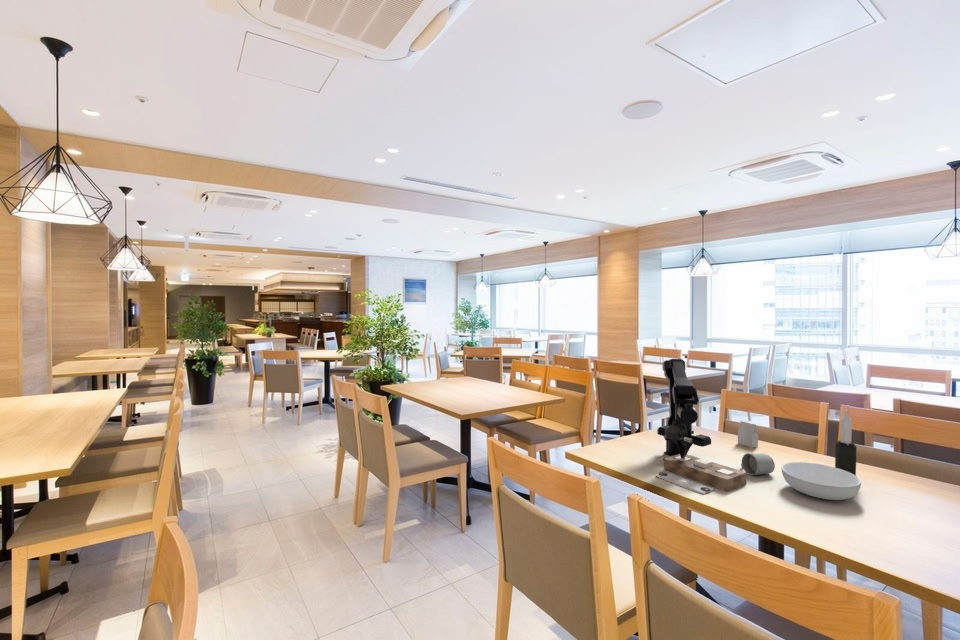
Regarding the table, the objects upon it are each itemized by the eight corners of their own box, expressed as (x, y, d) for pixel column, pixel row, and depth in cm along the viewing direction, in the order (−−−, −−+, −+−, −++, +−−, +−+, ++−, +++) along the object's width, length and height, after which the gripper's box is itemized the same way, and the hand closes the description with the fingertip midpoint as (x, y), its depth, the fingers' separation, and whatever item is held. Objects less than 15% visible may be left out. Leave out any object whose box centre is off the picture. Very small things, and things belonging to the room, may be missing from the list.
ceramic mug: (776, 476, 161) (776, 455, 161) (757, 478, 159) (757, 457, 159) (752, 466, 171) (752, 446, 171) (734, 468, 169) (734, 448, 169)
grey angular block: (752, 448, 193) (752, 425, 193) (737, 443, 199) (738, 421, 199) (757, 446, 194) (758, 424, 194) (743, 442, 201) (743, 420, 200)
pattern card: (654, 476, 161) (654, 474, 161) (664, 472, 164) (664, 470, 164) (704, 495, 145) (704, 492, 145) (715, 490, 148) (715, 488, 148)
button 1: (674, 465, 168) (674, 457, 168) (681, 463, 170) (681, 455, 170) (684, 468, 165) (684, 460, 165) (690, 466, 167) (691, 458, 167)
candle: (851, 478, 159) (853, 409, 158) (856, 483, 154) (858, 412, 153) (833, 476, 161) (835, 407, 160) (838, 481, 156) (840, 410, 155)
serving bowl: (766, 487, 152) (767, 467, 151) (805, 477, 160) (805, 458, 160) (835, 513, 133) (836, 490, 132) (875, 500, 141) (876, 479, 141)
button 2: (716, 479, 155) (716, 470, 155) (722, 476, 157) (722, 468, 157) (728, 483, 151) (728, 474, 151) (734, 480, 154) (734, 472, 154)
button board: (663, 469, 168) (663, 458, 168) (682, 463, 174) (682, 453, 174) (727, 491, 148) (727, 479, 148) (746, 483, 154) (746, 472, 154)
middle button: (694, 468, 162) (694, 460, 161) (701, 466, 164) (701, 458, 164) (705, 472, 158) (705, 463, 158) (711, 470, 160) (711, 461, 160)
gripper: (648, 414, 171) (648, 455, 171) (694, 425, 155) (693, 470, 155) (666, 411, 177) (666, 449, 177) (712, 421, 161) (711, 464, 161)
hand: (682, 458), depth 168 cm, fingers closed, pressing on button 1
